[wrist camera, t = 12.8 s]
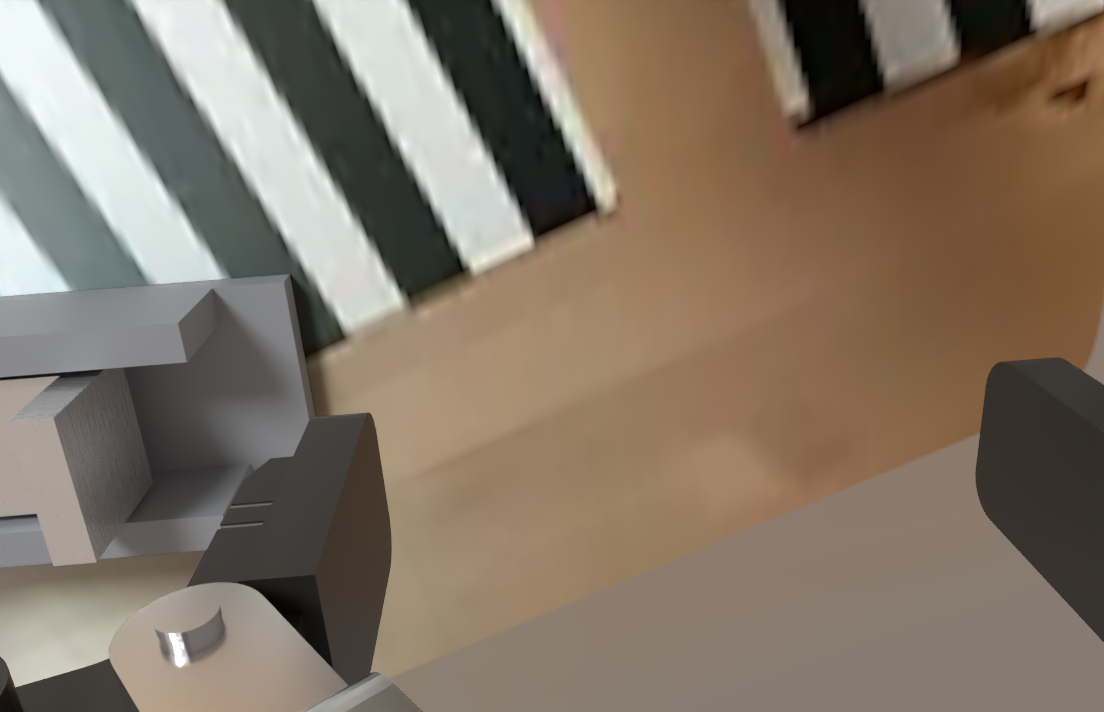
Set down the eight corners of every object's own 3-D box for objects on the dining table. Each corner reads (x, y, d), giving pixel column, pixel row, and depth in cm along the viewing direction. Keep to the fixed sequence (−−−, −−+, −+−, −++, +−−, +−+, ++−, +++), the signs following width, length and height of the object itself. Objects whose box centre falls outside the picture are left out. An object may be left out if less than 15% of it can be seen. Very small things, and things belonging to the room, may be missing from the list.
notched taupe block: (-21, 352, 39) (-139, 433, 32) (135, 340, 39) (53, 418, 32) (19, 475, 41) (-83, 577, 34) (166, 463, 41) (96, 562, 34)
